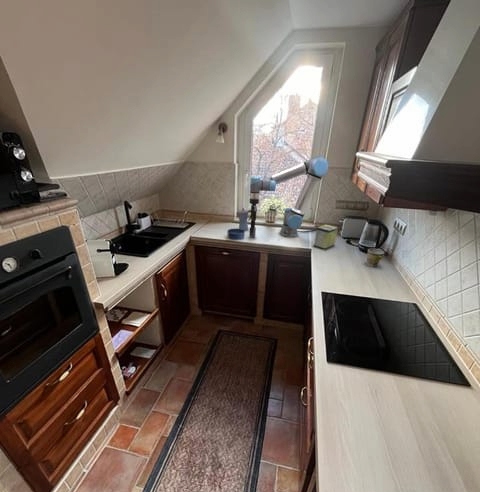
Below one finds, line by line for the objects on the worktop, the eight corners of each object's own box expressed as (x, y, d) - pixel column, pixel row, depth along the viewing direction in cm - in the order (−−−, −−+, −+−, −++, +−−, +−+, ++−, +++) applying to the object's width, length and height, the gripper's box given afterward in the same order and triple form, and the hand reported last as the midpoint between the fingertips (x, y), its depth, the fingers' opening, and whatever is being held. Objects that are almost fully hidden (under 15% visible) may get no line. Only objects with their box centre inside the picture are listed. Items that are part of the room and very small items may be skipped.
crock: (254, 237, 219) (255, 226, 214) (255, 239, 214) (256, 228, 210) (248, 237, 218) (249, 227, 214) (249, 239, 214) (250, 228, 209)
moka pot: (234, 229, 235) (234, 207, 225) (248, 228, 241) (249, 206, 231) (238, 232, 228) (238, 210, 218) (253, 231, 234) (254, 208, 224)
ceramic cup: (361, 261, 180) (365, 248, 175) (374, 261, 181) (378, 248, 176) (370, 269, 169) (375, 256, 164) (385, 269, 170) (389, 255, 165)
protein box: (334, 245, 206) (338, 226, 199) (324, 250, 197) (329, 230, 189) (322, 242, 213) (326, 224, 205) (313, 246, 203) (316, 227, 195)
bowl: (242, 235, 223) (243, 228, 220) (245, 240, 210) (245, 233, 207) (226, 235, 221) (226, 228, 218) (228, 241, 209) (228, 233, 206)
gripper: (248, 196, 206) (246, 224, 218) (251, 200, 192) (249, 230, 204) (257, 196, 207) (255, 224, 219) (261, 200, 193) (258, 230, 205)
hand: (252, 227), depth 211 cm, fingers open, 3 cm apart
